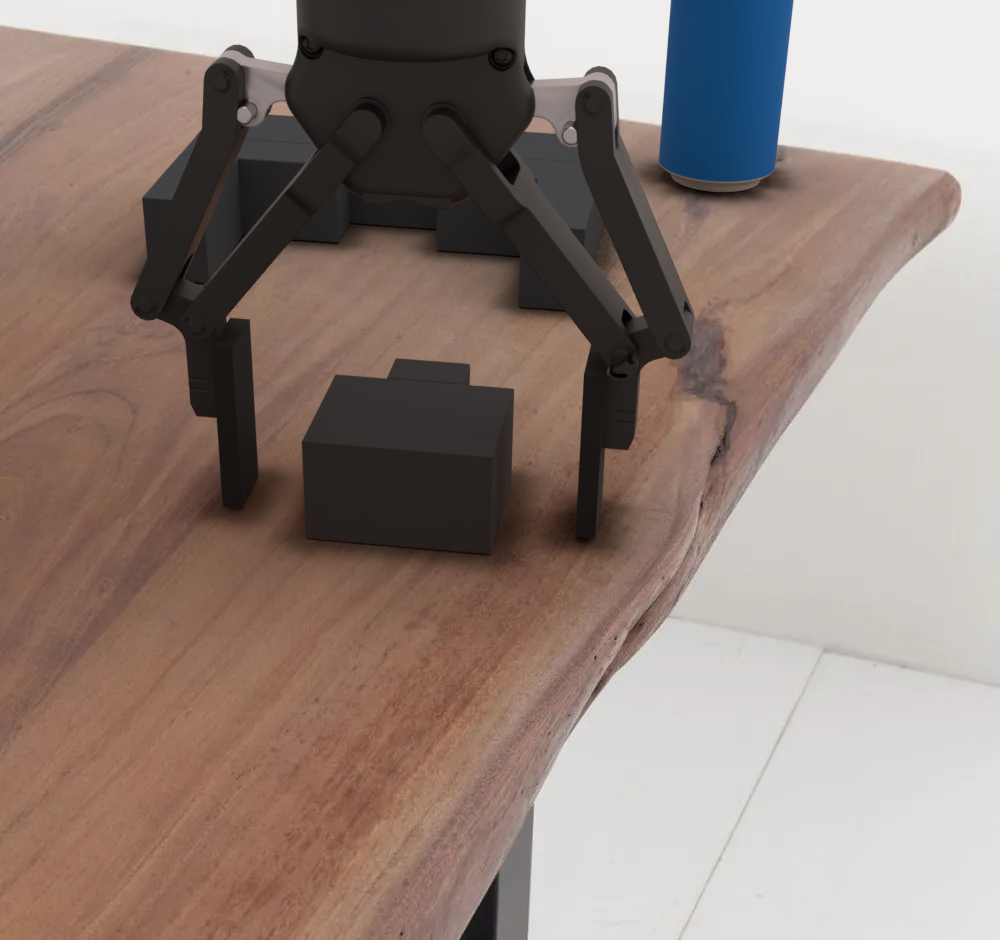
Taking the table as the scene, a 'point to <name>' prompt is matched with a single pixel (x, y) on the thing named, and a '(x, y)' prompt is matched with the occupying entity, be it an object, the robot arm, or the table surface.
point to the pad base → (464, 228)
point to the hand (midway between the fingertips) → (413, 507)
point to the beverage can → (724, 91)
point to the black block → (409, 459)
